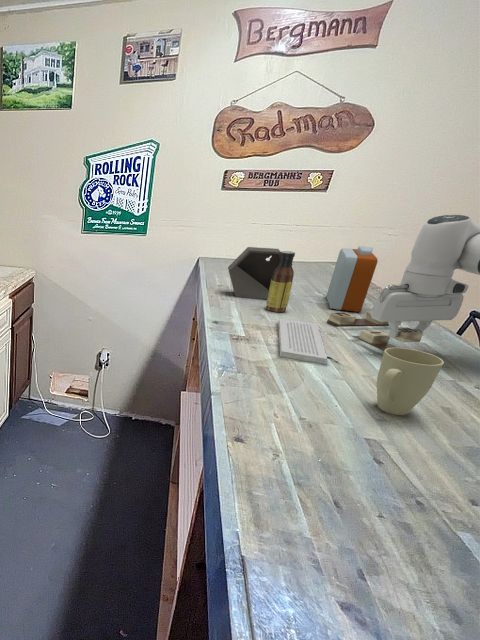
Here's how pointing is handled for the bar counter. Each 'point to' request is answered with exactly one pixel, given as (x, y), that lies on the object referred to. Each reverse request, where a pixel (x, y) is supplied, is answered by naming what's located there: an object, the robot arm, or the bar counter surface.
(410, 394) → the mug
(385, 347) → the front rack
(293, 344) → the plaque
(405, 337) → the s tile
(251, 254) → the planter
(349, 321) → the back rack
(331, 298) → the orange grey tall block
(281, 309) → the sauce bottle
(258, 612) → the bar counter surface
